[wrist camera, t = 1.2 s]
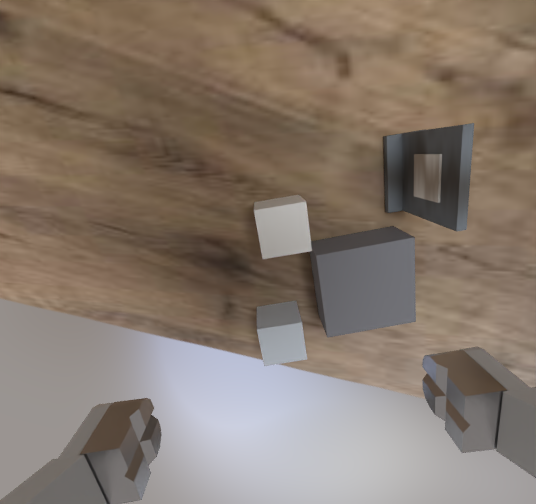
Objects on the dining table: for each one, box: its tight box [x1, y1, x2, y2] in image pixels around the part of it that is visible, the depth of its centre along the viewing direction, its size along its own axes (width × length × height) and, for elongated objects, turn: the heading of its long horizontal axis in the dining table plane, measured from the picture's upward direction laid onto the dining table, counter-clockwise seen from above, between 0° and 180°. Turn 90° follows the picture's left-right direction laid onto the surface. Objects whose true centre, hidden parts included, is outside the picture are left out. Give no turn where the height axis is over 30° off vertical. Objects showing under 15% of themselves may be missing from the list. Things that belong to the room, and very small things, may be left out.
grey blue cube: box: [257, 301, 307, 366], centre depth 34 cm, size 5×5×5 cm
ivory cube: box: [254, 195, 312, 259], centre depth 30 cm, size 5×5×5 cm
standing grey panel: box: [383, 123, 474, 231], centre depth 26 cm, size 8×4×10 cm, turn 9°
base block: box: [310, 226, 416, 337], centre depth 33 cm, size 10×10×5 cm
